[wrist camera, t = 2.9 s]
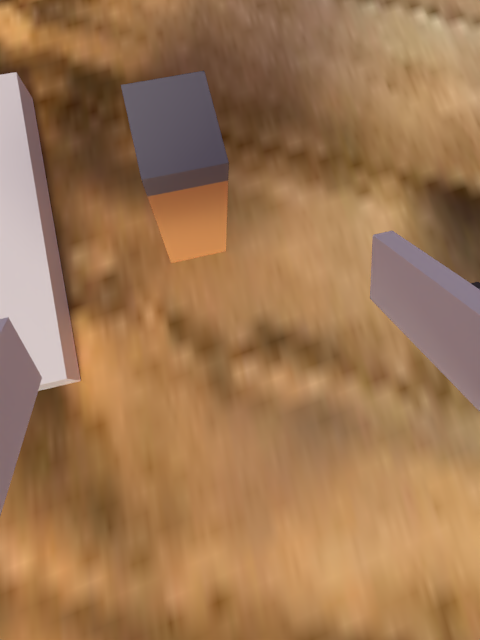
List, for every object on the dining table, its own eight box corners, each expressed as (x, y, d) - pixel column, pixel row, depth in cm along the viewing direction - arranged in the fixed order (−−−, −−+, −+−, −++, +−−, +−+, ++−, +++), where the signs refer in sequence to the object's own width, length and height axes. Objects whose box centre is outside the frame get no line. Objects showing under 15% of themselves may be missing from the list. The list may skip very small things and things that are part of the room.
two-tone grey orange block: (156, 199, 30) (121, 85, 19) (210, 189, 30) (204, 70, 19) (171, 262, 29) (141, 180, 18) (225, 251, 29) (228, 162, 19)
